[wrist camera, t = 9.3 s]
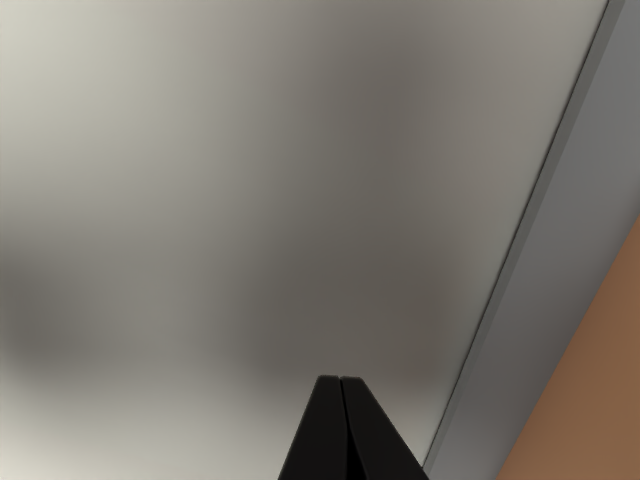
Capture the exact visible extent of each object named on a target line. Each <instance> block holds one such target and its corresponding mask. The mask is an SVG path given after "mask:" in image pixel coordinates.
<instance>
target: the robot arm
mask: <svg viewBox="0 0 640 480" xmlns="http://www.w3.org/2000/svg"><path fill="white" fill-rule="evenodd" d="M278 480H430V479H429V478H428V476H427V475H426V473H425V472H424V470H423V469H422V467H421V466H420V464H419V463H418V461H417V460H416V458H415V457H414V455H413V454H412V452H411V451H410V449H409V448H408V446H407V445H406V443H405V442H404V440H403V439H402V437H401V436H400V434H399V433H398V431H397V430H396V428H395V427H394V425H393V424H392V422H391V421H390V420H389V418H388V417H387V415H386V414H385V412H384V411H383V409H382V408H381V406H380V405H379V403H378V402H377V400H376V399H375V397H374V396H373V394H372V393H371V391H370V390H369V388H368V387H367V385H366V384H365V382H364V381H363V380H362V379H361V378H360V377H349V376H343V377H341V378H339V377H338V376H334V375H319V376H318V378H317V380H316V383H315V385H314V388H313V390H312V393H311V396H310V398H309V401H308V403H307V406H306V408H305V411H304V413H303V416H302V418H301V421H300V424H299V426H298V429H297V431H296V434H295V436H294V439H293V441H292V444H291V447H290V449H289V452H288V454H287V457H286V459H285V462H284V464H283V467H282V469H281V472H280V475H279V477H278Z"/></svg>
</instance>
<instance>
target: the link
mask: <svg viewBox="0 0 640 480" xmlns="http://www.w3.org/2000/svg"><path fill="white" fill-rule="evenodd" d="M495 480H640V214H639V216H638V217H637V219H636V221H635V223H634V225H633V227H632V228H631V230H630V232H629V234H628V236H627V238H626V240H625V241H624V243H623V245H622V247H621V249H620V251H619V252H618V254H617V256H616V258H615V260H614V262H613V263H612V265H611V267H610V269H609V271H608V273H607V275H606V276H605V278H604V280H603V282H602V284H601V286H600V287H599V289H598V291H597V293H596V295H595V297H594V298H593V300H592V302H591V304H590V306H589V308H588V310H587V311H586V313H585V315H584V317H583V319H582V321H581V322H580V324H579V326H578V328H577V330H576V332H575V333H574V335H573V337H572V339H571V341H570V343H569V345H568V346H567V348H566V350H565V352H564V354H563V356H562V357H561V359H560V361H559V363H558V365H557V367H556V368H555V370H554V372H553V374H552V376H551V378H550V380H549V381H548V383H547V385H546V387H545V389H544V391H543V392H542V394H541V396H540V398H539V400H538V402H537V403H536V405H535V407H534V409H533V411H532V413H531V415H530V416H529V418H528V420H527V422H526V424H525V426H524V427H523V429H522V431H521V433H520V435H519V437H518V438H517V440H516V442H515V444H514V446H513V448H512V449H511V451H510V453H509V455H508V457H507V459H506V461H505V462H504V464H503V466H502V468H501V470H500V472H499V473H498V475H497V477H496V479H495Z"/></svg>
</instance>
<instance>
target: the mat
mask: <svg viewBox="0 0 640 480" xmlns="http://www.w3.org/2000/svg"><path fill="white" fill-rule="evenodd" d="M639 214H640V0H610V1H609V4H608V6H607V9H606V11H605V14H604V16H603V19H602V21H601V24H600V26H599V29H598V31H597V34H596V36H595V39H594V41H593V44H592V46H591V49H590V51H589V54H588V56H587V59H586V61H585V64H584V66H583V69H582V71H581V74H580V76H579V79H578V81H577V84H576V86H575V89H574V91H573V94H572V96H571V99H570V101H569V104H568V106H567V109H566V111H565V114H564V116H563V119H562V121H561V124H560V126H559V129H558V131H557V134H556V136H555V139H554V141H553V144H552V146H551V149H550V151H549V154H548V156H547V159H546V161H545V164H544V166H543V169H542V171H541V174H540V176H539V179H538V181H537V184H536V186H535V189H534V191H533V194H532V196H531V199H530V201H529V204H528V206H527V209H526V211H525V214H524V216H523V219H522V221H521V224H520V226H519V229H518V231H517V234H516V237H515V239H514V242H513V244H512V247H511V249H510V252H509V254H508V257H507V259H506V262H505V264H504V267H503V269H502V272H501V274H500V277H499V279H498V282H497V284H496V287H495V289H494V292H493V294H492V297H491V299H490V302H489V304H488V307H487V309H486V312H485V314H484V317H483V319H482V322H481V324H480V327H479V329H478V332H477V334H476V337H475V339H474V342H473V344H472V347H471V349H470V352H469V354H468V357H467V359H466V362H465V364H464V367H463V369H462V372H461V374H460V377H459V379H458V382H457V384H456V387H455V389H454V392H453V394H452V397H451V399H450V402H449V404H448V407H447V409H446V412H445V414H444V417H443V419H442V422H441V424H440V427H439V429H438V432H437V434H436V437H435V439H434V442H433V444H432V447H431V449H430V452H429V454H428V457H427V459H426V462H425V464H424V467H423V470H424V472H425V473H426V475H427V476H428V478H429V479H430V480H495V479H496V477H497V475H498V473H499V472H500V470H501V468H502V466H503V464H504V462H505V461H506V459H507V457H508V455H509V453H510V451H511V449H512V448H513V446H514V444H515V442H516V440H517V438H518V437H519V435H520V433H521V431H522V429H523V427H524V426H525V424H526V422H527V420H528V418H529V416H530V415H531V413H532V411H533V409H534V407H535V405H536V403H537V402H538V400H539V398H540V396H541V394H542V392H543V391H544V389H545V387H546V385H547V383H548V381H549V380H550V378H551V376H552V374H553V372H554V370H555V368H556V367H557V365H558V363H559V361H560V359H561V357H562V356H563V354H564V352H565V350H566V348H567V346H568V345H569V343H570V341H571V339H572V337H573V335H574V333H575V332H576V330H577V328H578V326H579V324H580V322H581V321H582V319H583V317H584V315H585V313H586V311H587V310H588V308H589V306H590V304H591V302H592V300H593V298H594V297H595V295H596V293H597V291H598V289H599V287H600V286H601V284H602V282H603V280H604V278H605V276H606V275H607V273H608V271H609V269H610V267H611V265H612V263H613V262H614V260H615V258H616V256H617V254H618V252H619V251H620V249H621V247H622V245H623V243H624V241H625V240H626V238H627V236H628V234H629V232H630V230H631V228H632V227H633V225H634V223H635V221H636V219H637V217H638V216H639Z"/></svg>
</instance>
